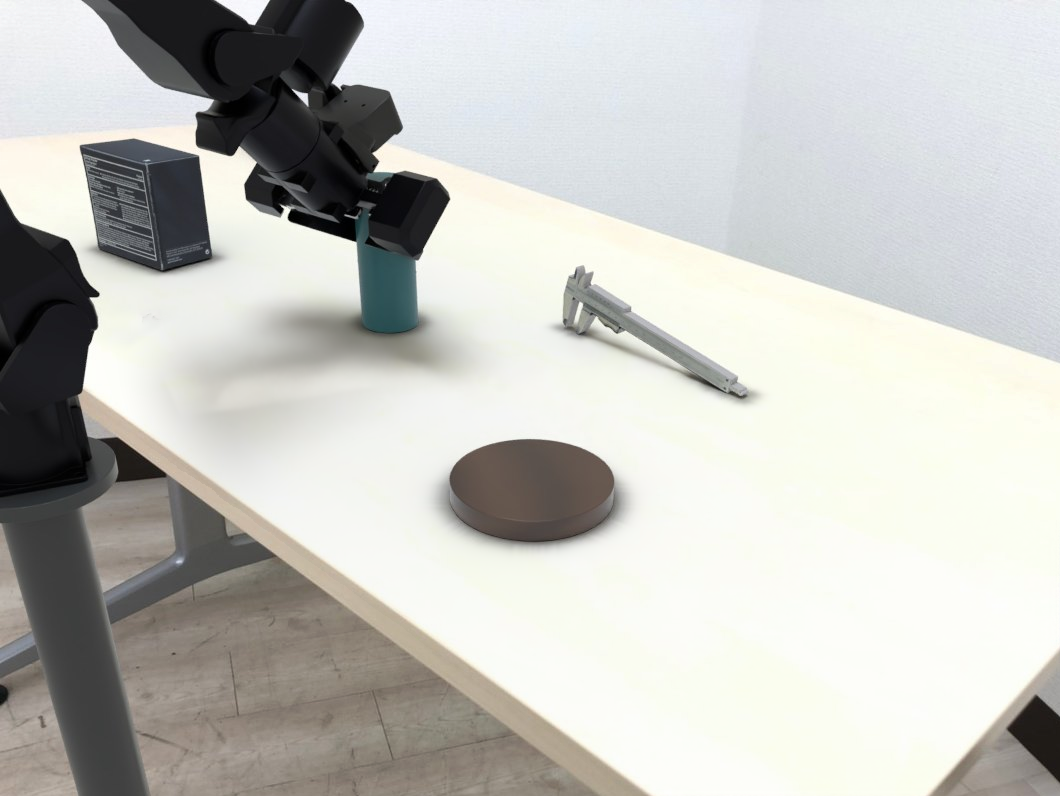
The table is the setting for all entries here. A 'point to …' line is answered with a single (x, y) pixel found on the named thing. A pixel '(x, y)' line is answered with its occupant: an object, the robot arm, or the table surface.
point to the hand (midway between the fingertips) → (397, 249)
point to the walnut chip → (531, 489)
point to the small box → (147, 202)
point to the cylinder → (385, 281)
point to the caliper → (638, 329)
